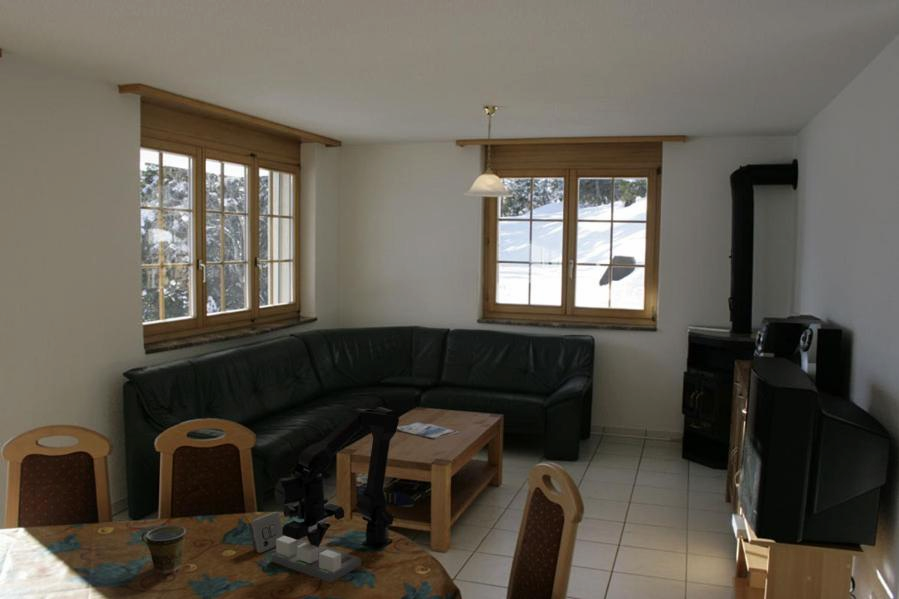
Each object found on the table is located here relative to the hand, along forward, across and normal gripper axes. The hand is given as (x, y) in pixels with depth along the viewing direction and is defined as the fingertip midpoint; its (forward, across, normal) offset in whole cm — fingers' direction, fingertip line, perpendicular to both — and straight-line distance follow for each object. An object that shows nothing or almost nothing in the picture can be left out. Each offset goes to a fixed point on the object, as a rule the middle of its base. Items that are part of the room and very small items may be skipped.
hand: (314, 551), depth 208 cm
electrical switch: (+4, 0, -19) cm, 20 cm away
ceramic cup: (+4, +25, -32) cm, 41 cm away
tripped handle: (+1, +3, 0) cm, 3 cm away
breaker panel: (+4, 0, 0) cm, 4 cm away
